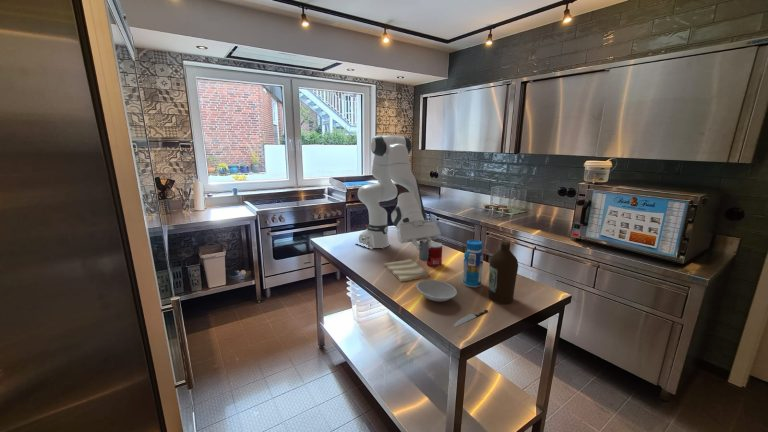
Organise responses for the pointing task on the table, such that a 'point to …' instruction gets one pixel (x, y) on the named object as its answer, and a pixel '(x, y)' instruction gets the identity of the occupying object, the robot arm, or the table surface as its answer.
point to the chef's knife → (469, 318)
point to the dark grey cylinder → (423, 250)
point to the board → (406, 270)
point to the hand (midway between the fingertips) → (424, 248)
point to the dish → (436, 290)
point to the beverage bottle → (473, 264)
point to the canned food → (435, 254)
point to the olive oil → (502, 274)
